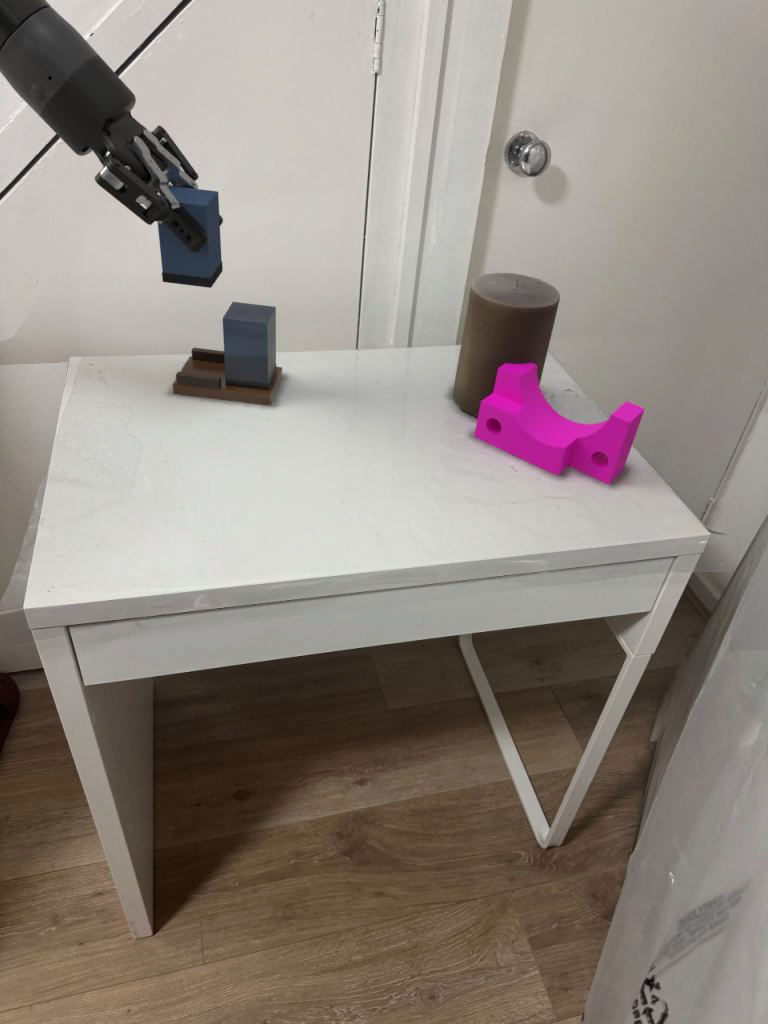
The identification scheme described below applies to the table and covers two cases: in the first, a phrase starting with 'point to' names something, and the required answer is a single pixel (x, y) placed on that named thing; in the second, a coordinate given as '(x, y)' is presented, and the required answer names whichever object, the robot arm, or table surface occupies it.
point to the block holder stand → (236, 359)
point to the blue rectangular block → (177, 256)
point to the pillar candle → (502, 332)
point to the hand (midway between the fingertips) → (209, 236)
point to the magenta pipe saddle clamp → (553, 428)
